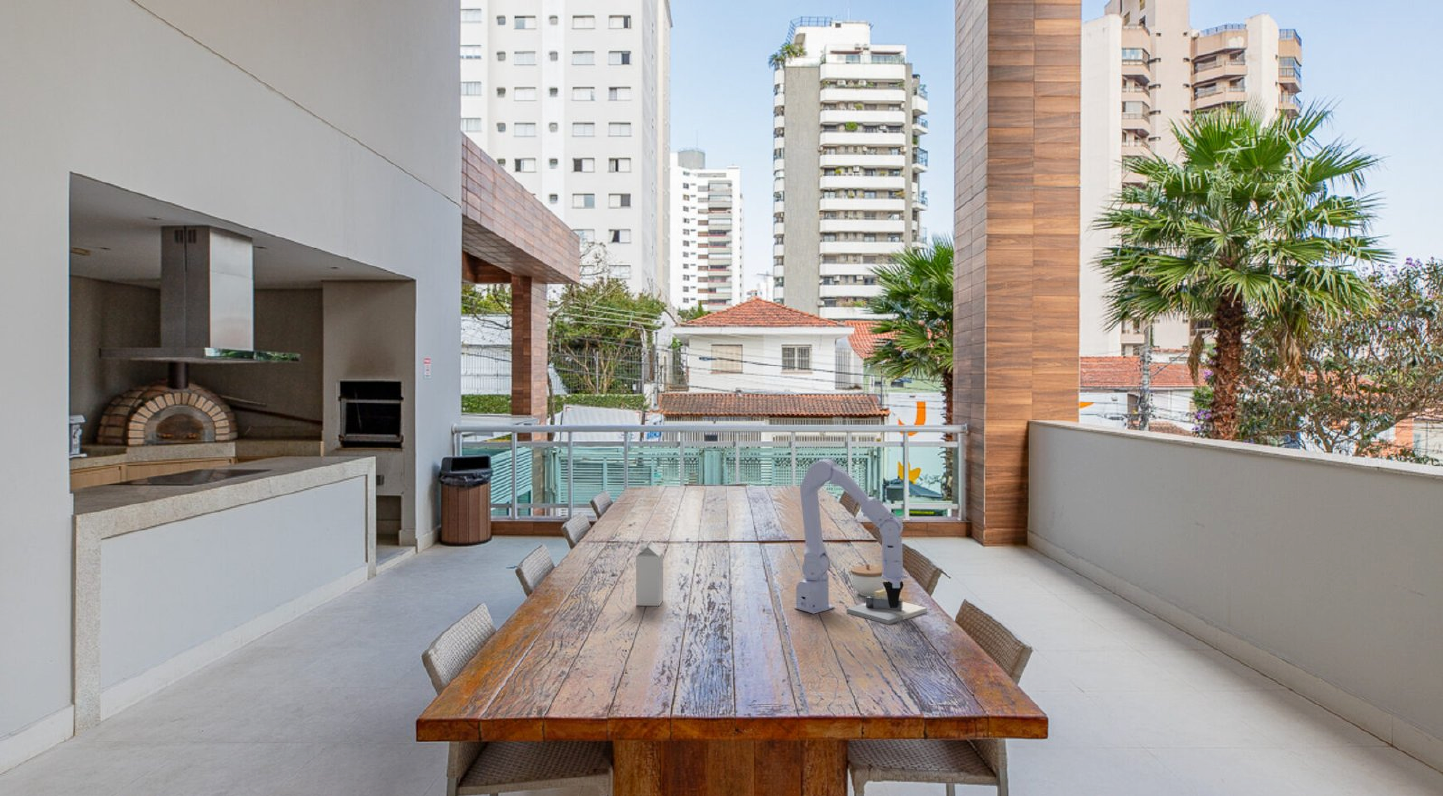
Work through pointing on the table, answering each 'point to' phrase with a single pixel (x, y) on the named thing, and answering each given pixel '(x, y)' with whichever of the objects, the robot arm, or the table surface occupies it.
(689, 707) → the table surface
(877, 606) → the swing bar
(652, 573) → the milk carton
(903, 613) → the door board
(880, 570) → the lidded jar
